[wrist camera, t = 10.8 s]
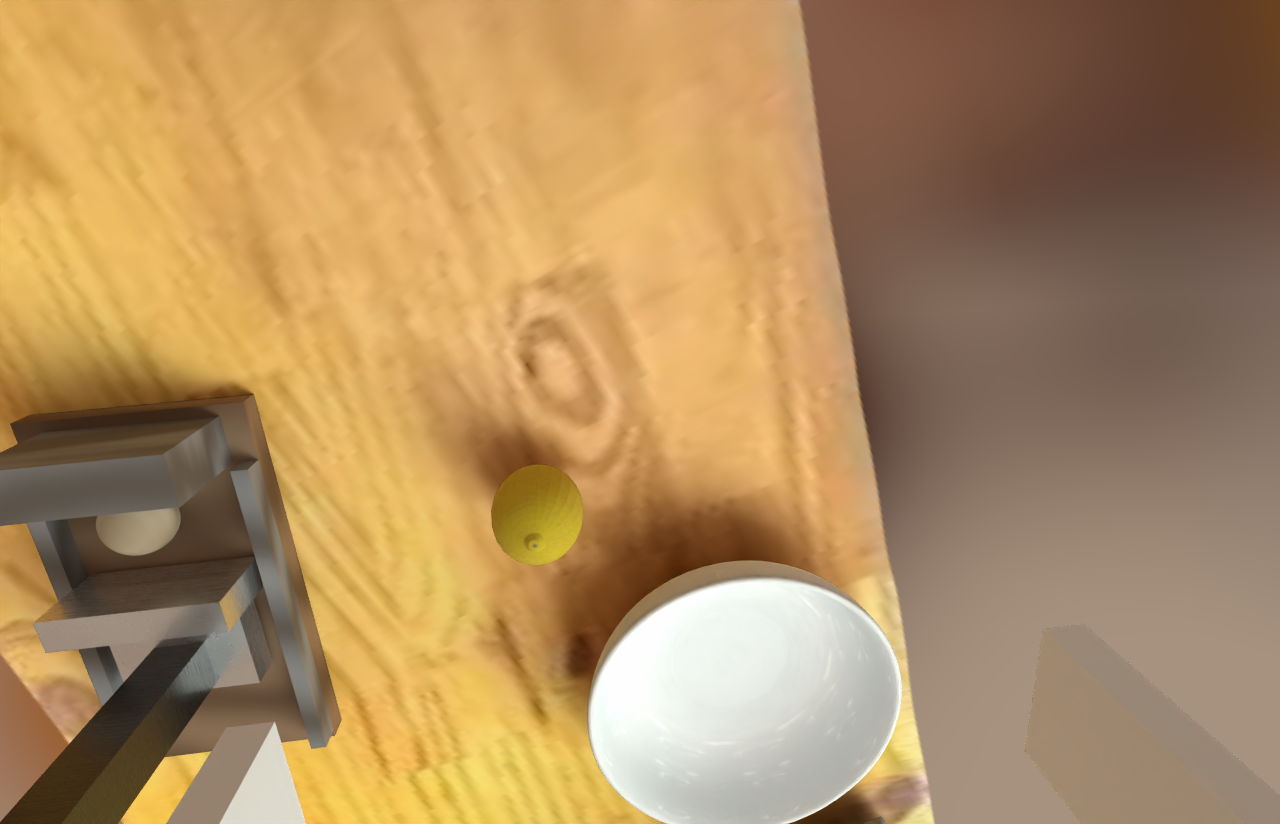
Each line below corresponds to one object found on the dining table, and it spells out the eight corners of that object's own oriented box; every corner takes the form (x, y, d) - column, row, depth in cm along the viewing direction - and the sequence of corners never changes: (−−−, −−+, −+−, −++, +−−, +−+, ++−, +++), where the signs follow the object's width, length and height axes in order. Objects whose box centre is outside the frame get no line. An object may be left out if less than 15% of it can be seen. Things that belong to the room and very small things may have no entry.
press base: (29, 415, 41) (-83, 465, 34) (253, 394, 42) (189, 438, 35) (156, 743, 49) (87, 837, 42) (341, 719, 50) (303, 808, 43)
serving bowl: (680, 476, 47) (697, 524, 40) (915, 598, 52) (964, 658, 45) (534, 700, 51) (529, 776, 45) (762, 792, 56) (787, 872, 50)
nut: (114, 478, 41) (68, 509, 38) (183, 471, 42) (144, 501, 38) (134, 537, 43) (92, 572, 39) (201, 530, 43) (166, 564, 39)
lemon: (525, 535, 47) (517, 604, 39) (482, 470, 45) (464, 529, 37) (597, 498, 46) (602, 561, 39) (556, 431, 45) (553, 483, 37)
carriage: (92, 573, 43) (-144, 769, 29) (257, 555, 43) (106, 739, 29) (132, 678, 45) (-66, 905, 31) (287, 660, 46) (162, 874, 32)
